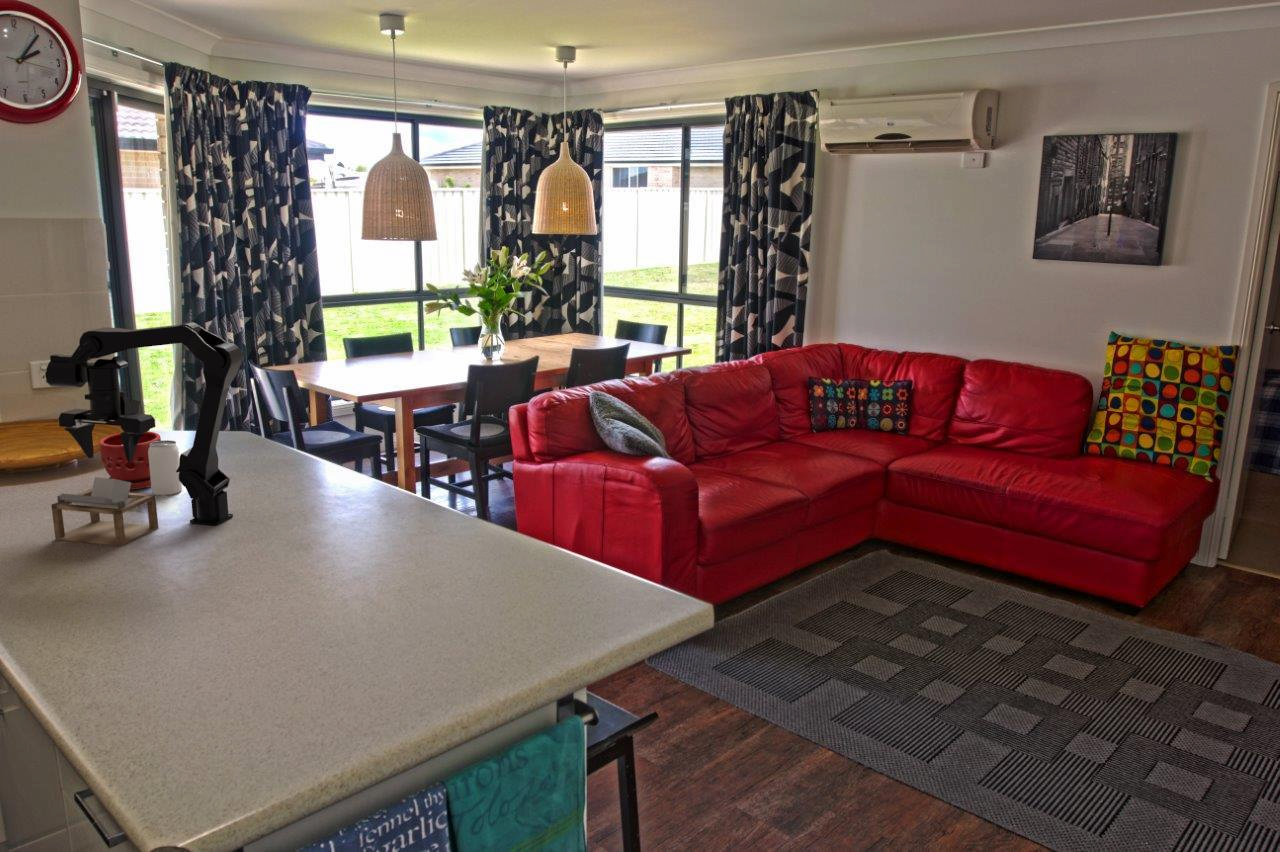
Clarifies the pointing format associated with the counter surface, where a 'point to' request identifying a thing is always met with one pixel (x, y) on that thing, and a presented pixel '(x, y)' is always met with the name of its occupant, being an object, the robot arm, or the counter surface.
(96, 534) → the frame
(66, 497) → the trapdoor
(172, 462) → the can
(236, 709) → the counter surface
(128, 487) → the stone
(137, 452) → the plant pot
